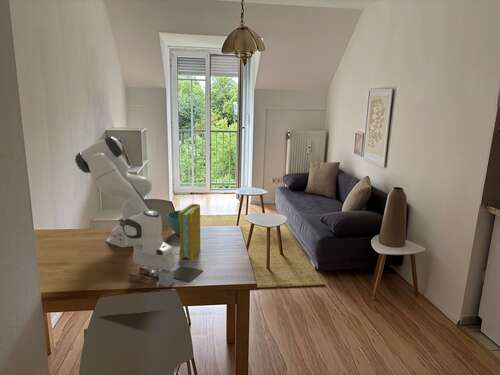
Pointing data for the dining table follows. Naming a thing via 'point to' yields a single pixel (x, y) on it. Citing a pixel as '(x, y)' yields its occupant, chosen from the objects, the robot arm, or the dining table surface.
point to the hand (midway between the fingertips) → (153, 275)
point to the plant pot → (174, 221)
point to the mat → (186, 273)
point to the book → (189, 231)
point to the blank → (166, 277)
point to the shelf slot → (144, 278)
